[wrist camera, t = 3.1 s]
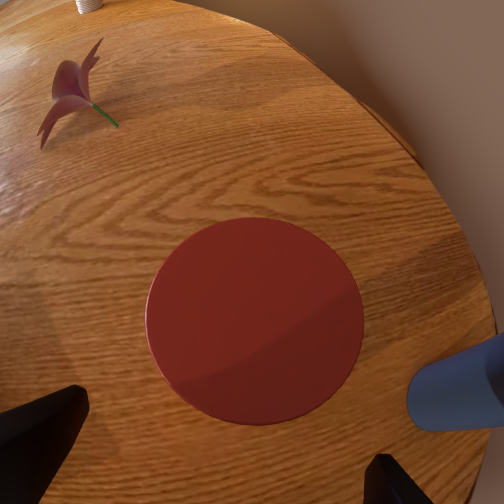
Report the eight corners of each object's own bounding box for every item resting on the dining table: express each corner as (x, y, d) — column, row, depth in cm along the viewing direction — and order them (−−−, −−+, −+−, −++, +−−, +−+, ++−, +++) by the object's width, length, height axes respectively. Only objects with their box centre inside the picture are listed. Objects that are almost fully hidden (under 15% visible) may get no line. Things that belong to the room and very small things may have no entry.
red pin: (294, 404, 18) (394, 379, 6) (213, 426, 17) (172, 449, 5) (270, 329, 20) (319, 200, 9) (193, 349, 19) (132, 240, 8)
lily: (124, 90, 34) (74, 41, 26) (174, 84, 27) (111, 14, 19) (63, 168, 32) (5, 123, 25) (93, 186, 25) (11, 123, 17)
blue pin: (468, 411, 17) (614, 369, 6) (418, 444, 16) (578, 433, 5) (449, 352, 19) (587, 275, 8) (397, 380, 18) (550, 315, 7)
